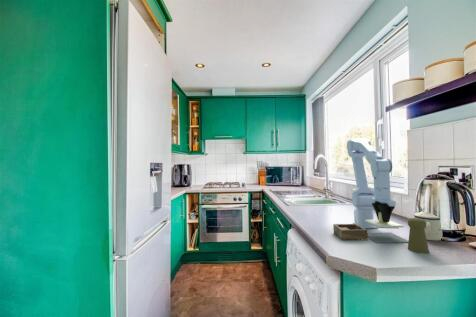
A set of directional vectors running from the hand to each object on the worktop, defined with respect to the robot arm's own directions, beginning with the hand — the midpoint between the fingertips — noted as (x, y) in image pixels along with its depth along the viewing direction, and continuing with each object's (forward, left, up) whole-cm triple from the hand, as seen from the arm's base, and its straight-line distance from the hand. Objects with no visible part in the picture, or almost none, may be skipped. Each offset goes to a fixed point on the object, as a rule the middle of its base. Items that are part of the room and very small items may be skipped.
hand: (383, 221), depth 97 cm
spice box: (-2, -13, -7) cm, 15 cm away
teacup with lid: (+1, +17, -7) cm, 18 cm away
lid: (0, 0, -2) cm, 2 cm away
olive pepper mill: (+14, +4, -7) cm, 16 cm away
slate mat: (0, 0, -7) cm, 7 cm away
